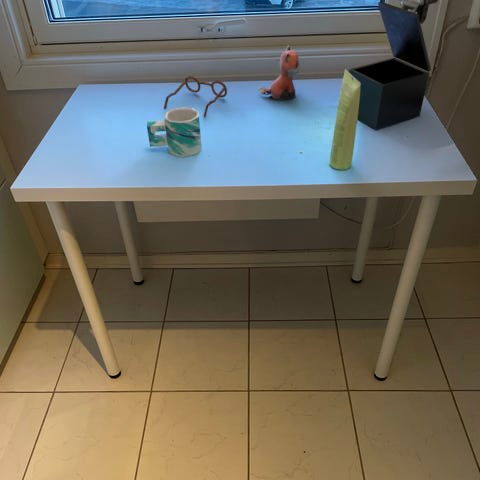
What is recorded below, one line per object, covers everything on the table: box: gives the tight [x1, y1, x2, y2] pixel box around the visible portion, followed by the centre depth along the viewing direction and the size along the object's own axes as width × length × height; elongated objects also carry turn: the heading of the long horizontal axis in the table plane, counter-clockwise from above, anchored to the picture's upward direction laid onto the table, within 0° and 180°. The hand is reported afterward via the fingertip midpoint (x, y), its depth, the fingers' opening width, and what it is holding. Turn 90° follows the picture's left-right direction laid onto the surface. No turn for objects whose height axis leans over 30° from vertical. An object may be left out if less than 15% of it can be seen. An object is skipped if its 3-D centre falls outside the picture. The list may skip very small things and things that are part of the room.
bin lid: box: [377, 0, 432, 73], centre depth 123 cm, size 15×13×5 cm
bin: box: [348, 57, 430, 131], centre depth 131 cm, size 15×13×11 cm
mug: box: [146, 106, 203, 158], centre depth 122 cm, size 8×12×8 cm
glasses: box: [163, 75, 228, 118], centre depth 141 cm, size 13×13×5 cm
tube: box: [329, 68, 361, 171], centre depth 110 cm, size 6×5×20 cm
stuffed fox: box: [257, 44, 301, 101], centre depth 141 cm, size 8×11×12 cm
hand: (410, 19), depth 121 cm, fingers closed on bin lid, 5 cm apart
